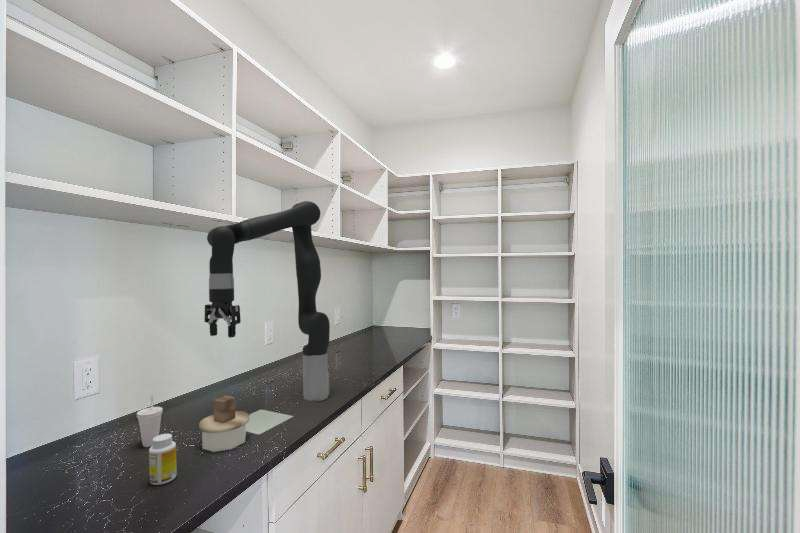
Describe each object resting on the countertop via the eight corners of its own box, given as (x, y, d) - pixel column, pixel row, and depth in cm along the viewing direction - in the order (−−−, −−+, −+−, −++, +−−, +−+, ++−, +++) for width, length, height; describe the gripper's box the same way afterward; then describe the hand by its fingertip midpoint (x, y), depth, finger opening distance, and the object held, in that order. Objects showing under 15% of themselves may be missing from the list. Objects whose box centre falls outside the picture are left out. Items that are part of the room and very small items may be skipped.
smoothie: (168, 441, 111) (167, 394, 111) (144, 451, 105) (143, 401, 105) (156, 437, 114) (155, 390, 114) (132, 446, 108) (131, 397, 108)
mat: (260, 411, 133) (260, 409, 133) (293, 417, 127) (293, 416, 127) (224, 427, 120) (224, 425, 120) (259, 436, 113) (259, 434, 113)
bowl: (227, 432, 116) (227, 413, 116) (253, 439, 111) (253, 419, 111) (194, 448, 106) (194, 427, 106) (221, 456, 101) (221, 434, 101)
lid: (228, 411, 117) (227, 389, 117) (258, 418, 112) (258, 394, 112) (188, 427, 106) (188, 402, 106) (220, 436, 100) (220, 410, 100)
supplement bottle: (180, 472, 94) (179, 431, 94) (171, 484, 89) (170, 441, 89) (155, 474, 93) (155, 433, 93) (144, 487, 88) (144, 443, 88)
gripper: (246, 286, 125) (247, 335, 125) (216, 286, 131) (217, 333, 131) (227, 288, 118) (228, 340, 118) (196, 287, 124) (197, 337, 124)
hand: (222, 336), depth 125 cm, fingers open, 8 cm apart
